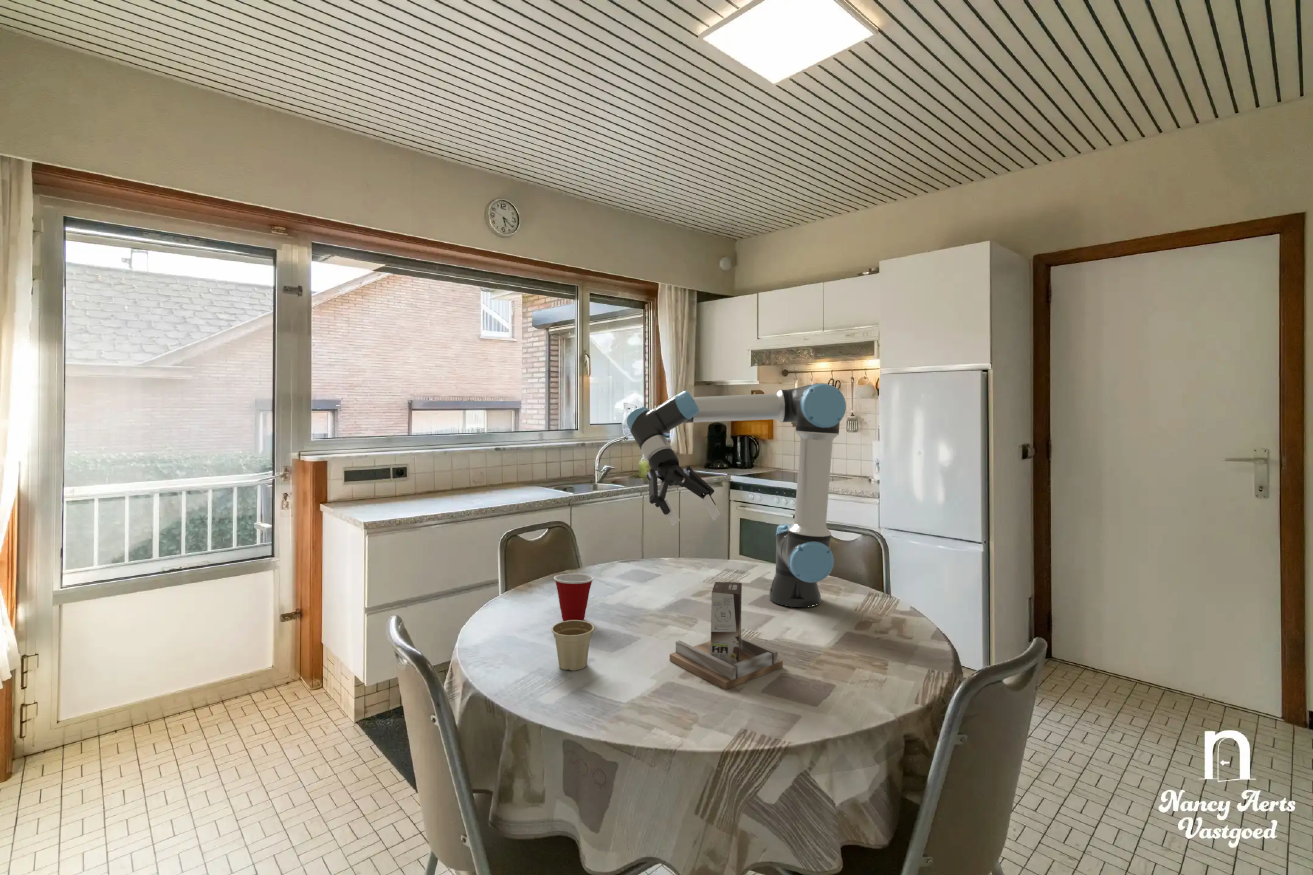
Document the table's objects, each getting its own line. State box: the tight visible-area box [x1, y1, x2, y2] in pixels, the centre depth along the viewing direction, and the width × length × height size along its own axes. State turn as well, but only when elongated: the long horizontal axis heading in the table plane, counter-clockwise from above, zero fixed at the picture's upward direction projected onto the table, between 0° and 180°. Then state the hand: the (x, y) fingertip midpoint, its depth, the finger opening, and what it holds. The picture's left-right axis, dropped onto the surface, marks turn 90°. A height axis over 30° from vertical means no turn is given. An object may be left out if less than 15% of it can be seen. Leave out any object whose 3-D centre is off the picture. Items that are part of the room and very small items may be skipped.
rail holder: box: [669, 636, 784, 690], centre depth 138 cm, size 18×18×4 cm
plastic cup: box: [553, 573, 595, 622], centre depth 165 cm, size 11×11×12 cm
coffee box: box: [710, 581, 743, 666], centre depth 138 cm, size 9×6×16 cm
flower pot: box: [551, 620, 595, 671], centre depth 136 cm, size 9×9×9 cm
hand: (697, 520), depth 152 cm, fingers open, 13 cm apart
